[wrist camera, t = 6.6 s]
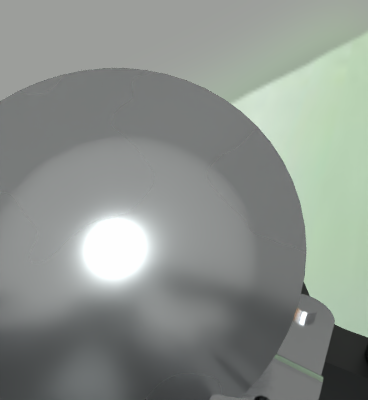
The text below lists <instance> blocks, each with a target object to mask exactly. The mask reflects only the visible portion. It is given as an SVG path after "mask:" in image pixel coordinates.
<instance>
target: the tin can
mask: <svg viewBox="0 0 368 400" xmlns="http://www.w3.org/2000/svg"><path fill="white" fill-rule="evenodd" d="M305 262H306V238H305V225H304V220H303V215H302V210H301V205H300V201H299V198H298V195H297V192H296V189H295V186H294V183H293V181H292V179H291V177H290V174H289V172H288V170H287V168H286V166H285V164H284V162H283V160H282V159H281V157H280V156H279V154H278V153H277V151H276V150H275V148H274V147H273V145H272V144H271V142H270V141H269V140H268V139H267V137H266V136H265V135H264V134H263V133H262V132H261V130H260V129H259V128H258V127H257V126H256V125H255V124H254V123H253V122H252V121H251V120H250V119H249V118H248V117H246V116H245V115H244V114H243V113H242V112H241V111H240V110H238V109H237V108H236V107H234V106H233V105H231V104H230V103H229V102H227V101H226V100H225V99H223V98H221V97H219V96H218V95H216V94H214V93H212V92H211V91H209V90H207V89H205V88H203V87H201V86H198V85H196V84H194V83H191V82H189V81H187V80H183V79H180V78H177V77H174V76H171V75H167V74H163V73H157V72H152V71H147V70H139V69H128V68H103V69H94V70H85V71H78V72H74V73H69V74H64V75H60V76H57V77H54V78H51V79H47V80H44V81H41V82H38V83H36V84H34V85H31V86H29V87H27V88H25V89H22V90H20V91H18V92H16V93H14V94H12V95H10V96H9V97H7V98H5V99H3V100H1V101H0V400H209V399H210V398H211V396H212V394H215V395H222V396H229V397H235V398H241V397H242V396H243V395H244V394H245V393H246V392H247V391H248V390H249V388H250V387H251V386H252V385H253V384H254V383H255V382H256V381H257V380H258V379H259V378H260V376H261V375H262V374H263V372H264V371H265V369H266V368H267V367H268V365H269V364H270V362H271V361H272V360H273V358H274V357H275V355H276V354H277V352H278V350H279V348H280V346H281V344H282V342H283V340H284V338H285V337H286V335H287V333H288V331H289V329H290V326H291V324H292V321H293V318H294V315H295V312H296V310H297V307H298V304H299V300H300V295H301V291H302V286H303V281H304V276H305Z"/></svg>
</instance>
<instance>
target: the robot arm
mask: <svg viewBox="0 0 368 400" xmlns="http://www.w3.org/2000/svg"><path fill="white" fill-rule="evenodd" d="M334 322H335V320H334V317H333V314H332V313H331V311H330V310H329V309H328V308H327V307H326V306H325V305H324V304H323V303H321V302H320V301H318V300H316V299H315V298H312V297H310V296H309V293H308V291H307V289H306V286H305V284H304V282H303V286H302V291H301V295H300V300H299V304H298V307H297V310H296V312H295V315H294V318H293V321H292V324H291V326H290V329H289V331H288V333H287V335H286V337H285V338H284V340H283V342H282V344H281V346H280V348H279V350H278V352H277V354H276V355H275V357H274V358H273V360H272V361H271V362H270V364H269V365H268V367H267V368H266V369H265V371H264V372H263V374H262V375H261V376H260V378H259V379H258V380H257V381H256V382H255V383H254V384H253V385H252V386H251V387H250V388H249V390H248V391H247V392H246V393H245V394H244V395H243V396H242V397H241V398H235V397H229V396H222V395H215V394H212V396H211V398H210V399H209V400H368V338H367V337H365V336H362V335H359V334H356V333H354V332H351V331H348V330H345V329H343V328H341V327H339V326H337V325H335V324H334Z"/></svg>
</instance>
